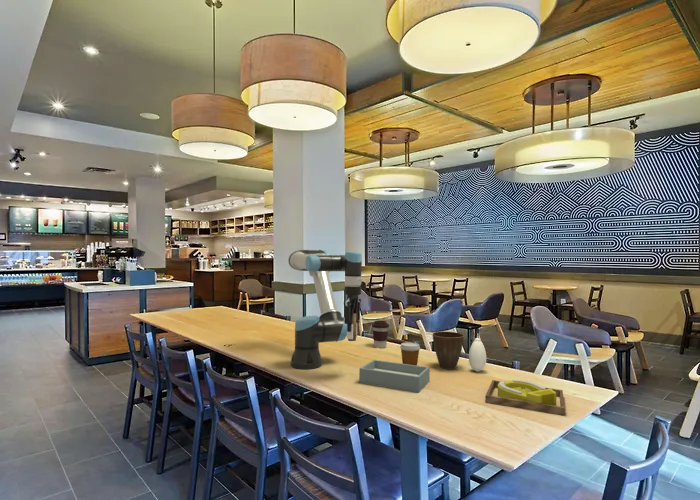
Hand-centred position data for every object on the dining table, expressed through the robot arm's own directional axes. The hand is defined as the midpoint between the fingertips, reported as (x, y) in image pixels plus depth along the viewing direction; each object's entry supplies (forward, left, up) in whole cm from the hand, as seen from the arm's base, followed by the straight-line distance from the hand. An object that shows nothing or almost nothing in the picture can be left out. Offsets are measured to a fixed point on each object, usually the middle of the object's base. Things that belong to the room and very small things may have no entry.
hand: (351, 337), depth 181 cm
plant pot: (+35, +35, -17) cm, 52 cm away
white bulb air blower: (+49, +35, -17) cm, 63 cm away
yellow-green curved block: (+71, +5, -17) cm, 73 cm away
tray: (+20, +1, -17) cm, 26 cm away
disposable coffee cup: (+20, +22, -17) cm, 34 cm away
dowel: (0, 0, -1) cm, 1 cm away
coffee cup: (-10, +59, -17) cm, 62 cm away
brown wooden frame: (+71, +5, -17) cm, 73 cm away
